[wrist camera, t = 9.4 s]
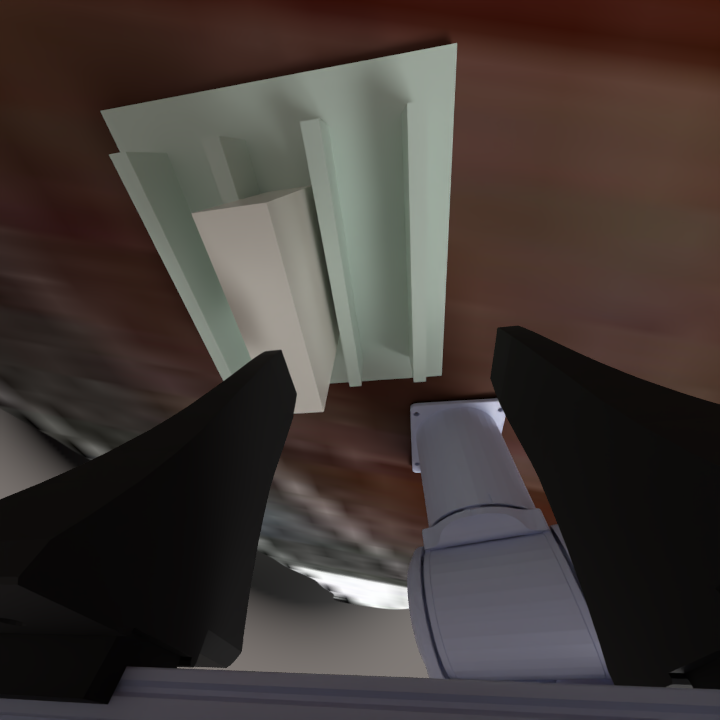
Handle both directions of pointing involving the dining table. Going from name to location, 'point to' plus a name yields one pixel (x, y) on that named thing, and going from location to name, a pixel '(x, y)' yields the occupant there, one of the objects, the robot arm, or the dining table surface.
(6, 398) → the dining table surface
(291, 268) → the tile plate
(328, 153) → the dish rack
